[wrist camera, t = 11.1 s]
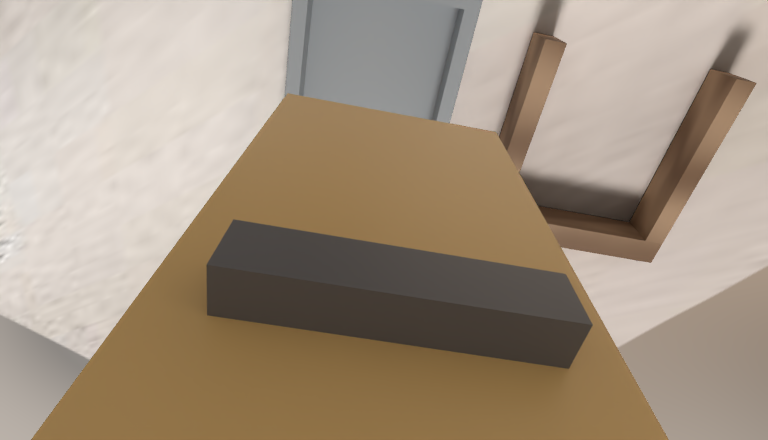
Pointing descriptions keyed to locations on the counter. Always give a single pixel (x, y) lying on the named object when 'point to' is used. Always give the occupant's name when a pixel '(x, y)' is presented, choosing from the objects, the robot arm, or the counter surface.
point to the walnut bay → (671, 179)
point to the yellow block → (361, 303)
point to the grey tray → (381, 53)
